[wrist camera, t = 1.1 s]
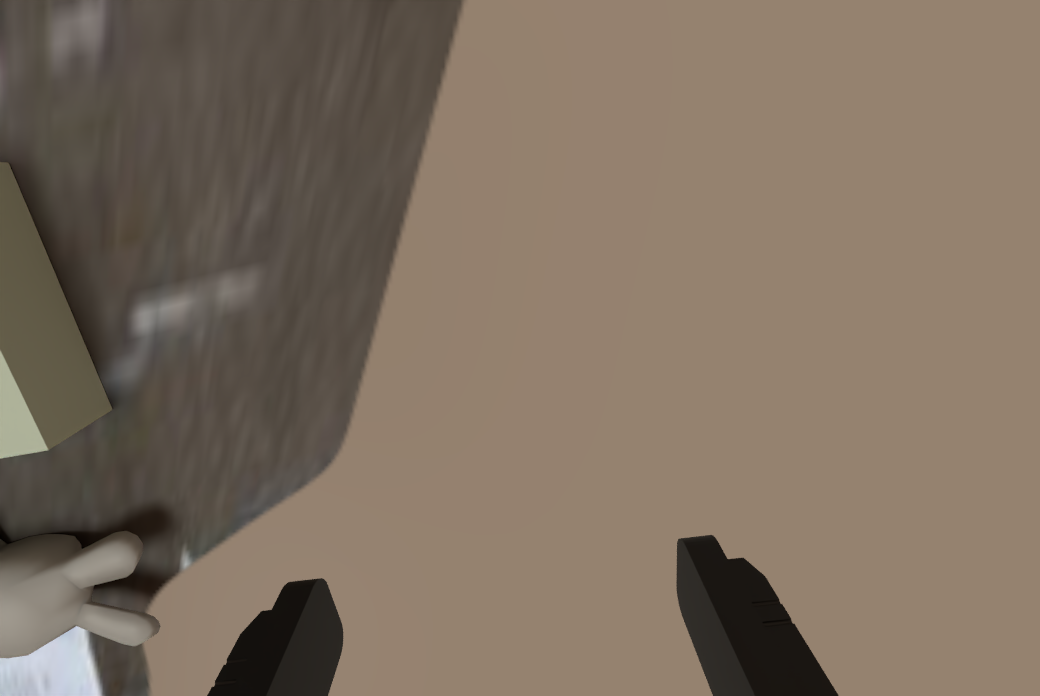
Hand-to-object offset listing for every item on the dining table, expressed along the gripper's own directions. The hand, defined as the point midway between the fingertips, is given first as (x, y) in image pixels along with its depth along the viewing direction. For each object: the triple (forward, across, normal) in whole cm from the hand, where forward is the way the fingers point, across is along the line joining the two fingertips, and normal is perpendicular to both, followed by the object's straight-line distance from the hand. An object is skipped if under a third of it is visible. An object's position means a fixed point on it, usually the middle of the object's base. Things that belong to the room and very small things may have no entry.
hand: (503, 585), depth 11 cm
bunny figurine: (+17, +31, +12) cm, 38 cm away
